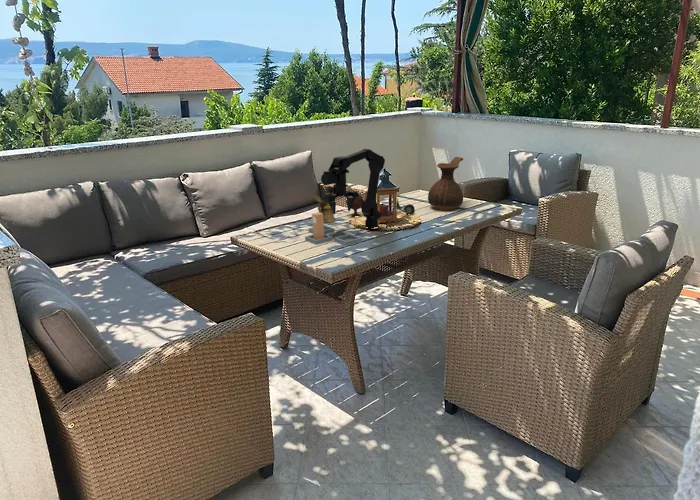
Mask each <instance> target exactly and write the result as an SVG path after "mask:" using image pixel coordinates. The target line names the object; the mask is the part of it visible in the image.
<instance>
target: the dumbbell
mask: <svg viewBox="0 0 700 500" xmlns="http://www.w3.org/2000/svg"><path fill="white" fill-rule="evenodd" d="M399 202H400V201H399V198H398V197H397V208H398V209H397V208H396V209H397V210H399V211H403V213H405V214H412V215H413V214H415V211H416V210H415V209H416V208H415V206H414V205H413V204H406V205H404V208H403V209H402V208H401V205H400V203H399Z"/></svg>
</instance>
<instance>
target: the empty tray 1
mask: <svg viewBox="0 0 700 500" xmlns="http://www.w3.org/2000/svg"><path fill="white" fill-rule="evenodd" d="M307 229H308V233H310V234H313V226H312V227H309V228H307ZM335 233H336V232H335V228H333V227H331V226H328V225H326V224H324V234H326V235H330V234H335Z"/></svg>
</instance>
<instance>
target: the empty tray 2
mask: <svg viewBox="0 0 700 500" xmlns="http://www.w3.org/2000/svg"><path fill="white" fill-rule="evenodd" d="M346 234H347V233H346ZM333 242H334V243H337V244H339V245H342V246H345V247H348V246H351V245H355V244H359V243H362V242H363V238H362V237H361V236H358V235H354V234H352V233H348V234H347V235H343V236H339V237H335V238H334V239H333Z"/></svg>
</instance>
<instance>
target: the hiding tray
mask: <svg viewBox="0 0 700 500" xmlns="http://www.w3.org/2000/svg"><path fill="white" fill-rule="evenodd" d="M329 235H330V234H324V238H323V239H318V240H315V239H313V234H310V235H306V236H305V235H304V239H305V241H306V242H308V243H311V244H314V245H316V246H317V245H320V244H325V243H328V242H332V241H333V242H334V239H333V237H332V236H329Z"/></svg>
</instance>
